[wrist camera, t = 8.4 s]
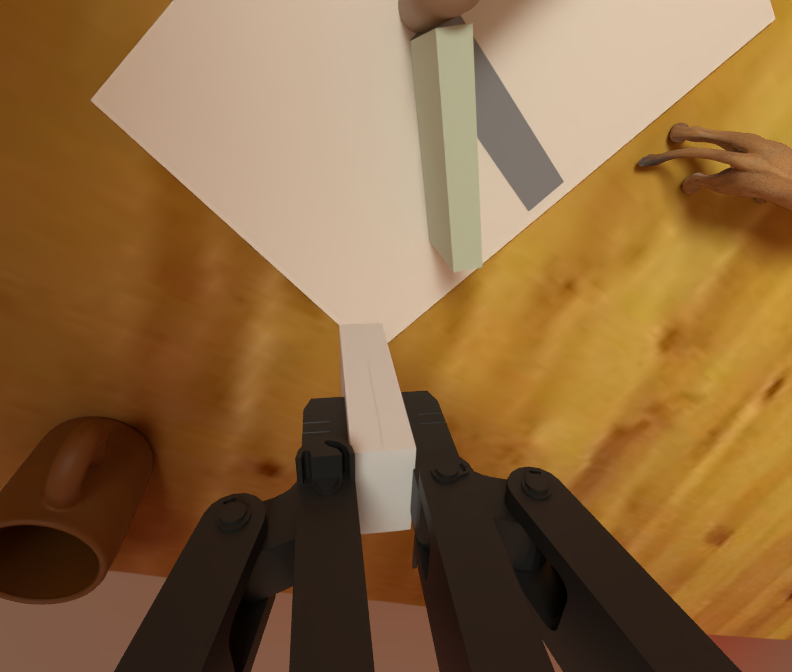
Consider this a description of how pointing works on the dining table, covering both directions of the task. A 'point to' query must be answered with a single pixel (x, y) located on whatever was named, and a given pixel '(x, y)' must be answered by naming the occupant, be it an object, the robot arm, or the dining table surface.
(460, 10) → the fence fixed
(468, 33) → the fence panel
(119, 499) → the mug
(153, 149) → the card
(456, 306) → the dining table surface
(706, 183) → the lion figurine
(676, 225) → the dining table surface
